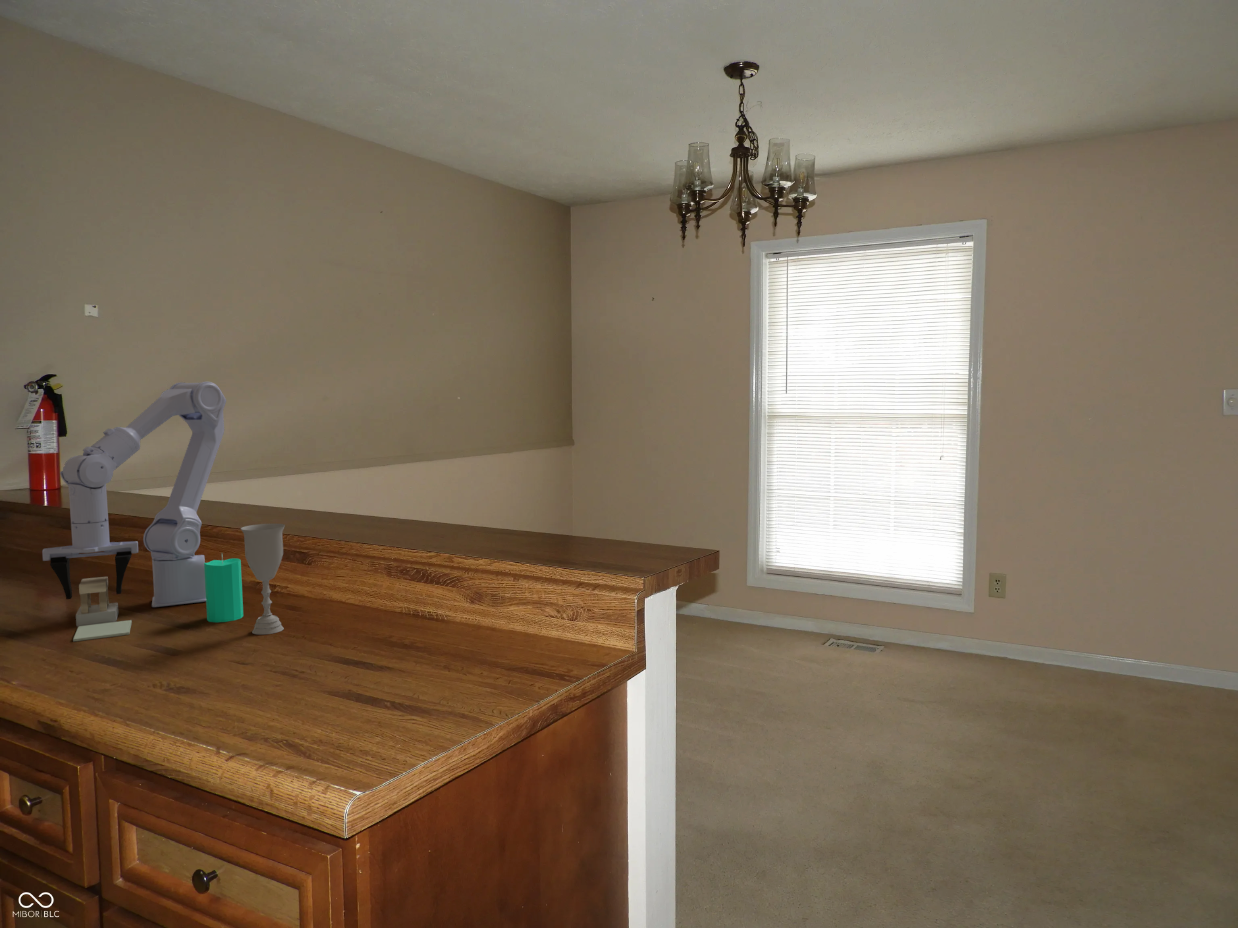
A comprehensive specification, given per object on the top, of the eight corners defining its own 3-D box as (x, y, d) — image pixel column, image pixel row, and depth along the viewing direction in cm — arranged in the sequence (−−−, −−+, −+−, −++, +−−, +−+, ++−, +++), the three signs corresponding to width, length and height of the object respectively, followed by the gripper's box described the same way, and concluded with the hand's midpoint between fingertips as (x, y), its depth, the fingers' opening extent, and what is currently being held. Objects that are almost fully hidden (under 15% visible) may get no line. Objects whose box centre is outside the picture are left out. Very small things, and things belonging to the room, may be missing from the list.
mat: (131, 622, 149) (131, 619, 149) (129, 634, 141) (129, 632, 141) (78, 628, 145) (78, 626, 145) (73, 641, 137) (73, 639, 137)
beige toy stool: (84, 606, 152) (82, 578, 152) (109, 603, 154) (107, 576, 154) (80, 613, 147) (78, 585, 147) (107, 610, 149) (105, 582, 148)
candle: (249, 613, 154) (246, 550, 153) (231, 622, 148) (228, 556, 147) (219, 613, 154) (216, 549, 153) (200, 622, 148) (196, 556, 147)
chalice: (272, 637, 138) (267, 530, 137) (236, 635, 139) (231, 529, 138) (298, 625, 145) (293, 523, 144) (263, 623, 147) (258, 523, 145)
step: (118, 612, 155) (117, 602, 155) (116, 621, 149) (115, 610, 149) (80, 617, 153) (79, 606, 152) (76, 626, 146) (75, 615, 146)
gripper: (38, 527, 142) (43, 605, 143) (135, 521, 149) (139, 594, 150) (43, 522, 149) (48, 596, 150) (136, 516, 155) (140, 587, 156)
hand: (94, 595), depth 150 cm, fingers open, 7 cm apart
